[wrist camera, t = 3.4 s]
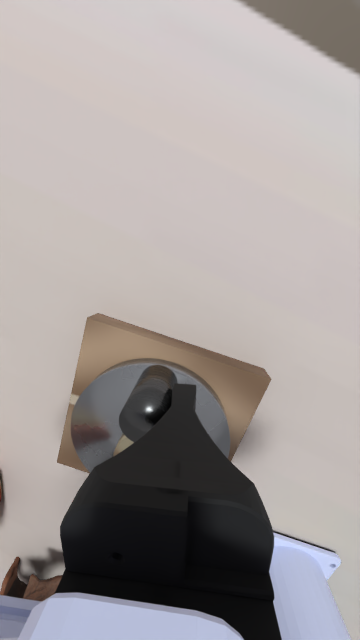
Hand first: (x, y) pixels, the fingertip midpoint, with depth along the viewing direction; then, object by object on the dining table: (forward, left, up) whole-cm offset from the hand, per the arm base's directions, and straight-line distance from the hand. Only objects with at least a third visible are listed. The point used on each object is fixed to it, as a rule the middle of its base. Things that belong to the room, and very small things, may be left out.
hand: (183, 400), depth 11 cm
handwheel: (-5, +1, -3) cm, 6 cm away
